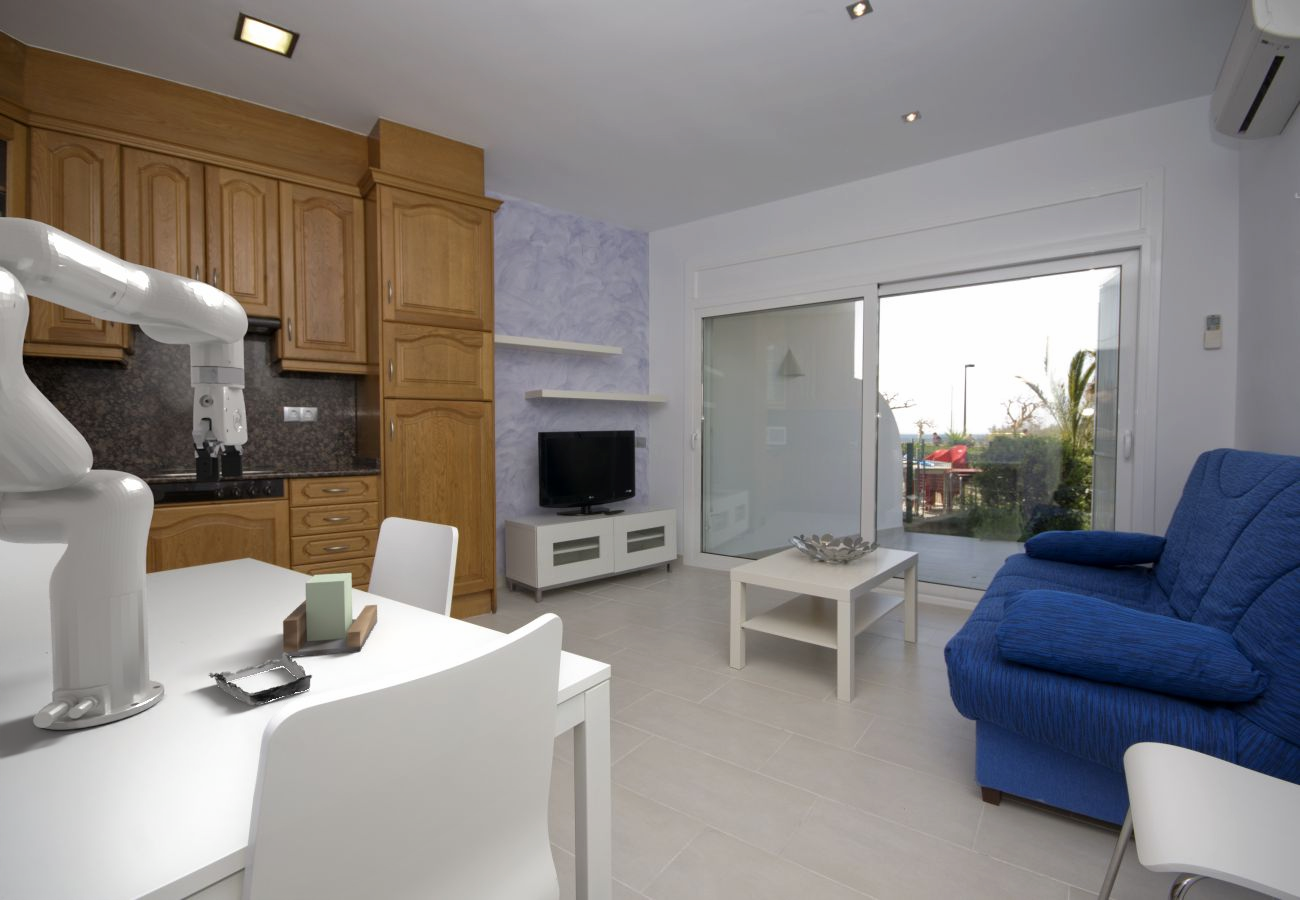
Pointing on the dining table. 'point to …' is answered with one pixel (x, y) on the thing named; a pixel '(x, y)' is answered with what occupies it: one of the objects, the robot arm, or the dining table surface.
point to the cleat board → (299, 645)
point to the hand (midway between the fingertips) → (220, 479)
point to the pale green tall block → (328, 606)
